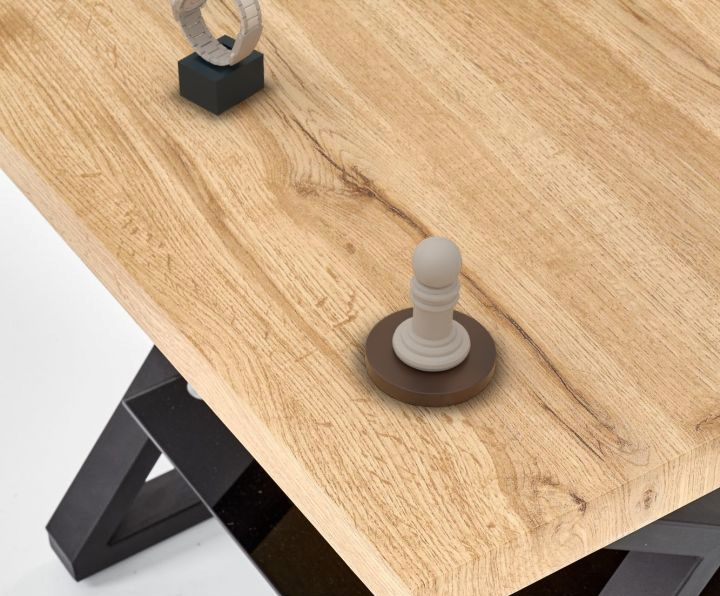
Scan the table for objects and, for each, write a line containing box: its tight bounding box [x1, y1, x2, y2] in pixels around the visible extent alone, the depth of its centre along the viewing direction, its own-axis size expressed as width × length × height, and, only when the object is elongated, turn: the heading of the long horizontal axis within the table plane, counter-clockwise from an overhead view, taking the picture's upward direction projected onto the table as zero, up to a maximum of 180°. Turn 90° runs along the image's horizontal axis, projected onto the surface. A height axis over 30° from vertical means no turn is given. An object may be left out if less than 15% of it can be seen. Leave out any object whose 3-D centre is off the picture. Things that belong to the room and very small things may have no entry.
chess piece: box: [392, 235, 470, 371], centre depth 105 cm, size 5×5×9 cm
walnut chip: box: [364, 306, 497, 408], centre depth 108 cm, size 9×9×1 cm
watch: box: [167, 0, 265, 116], centre depth 126 cm, size 6×8×11 cm
